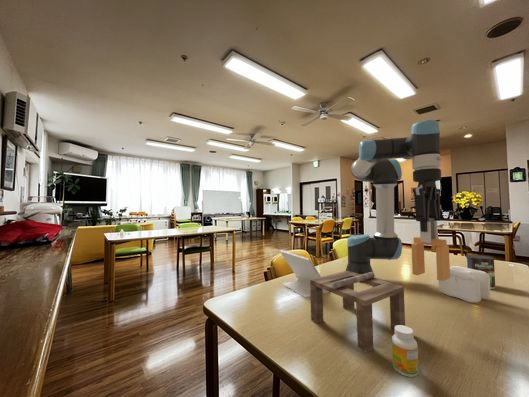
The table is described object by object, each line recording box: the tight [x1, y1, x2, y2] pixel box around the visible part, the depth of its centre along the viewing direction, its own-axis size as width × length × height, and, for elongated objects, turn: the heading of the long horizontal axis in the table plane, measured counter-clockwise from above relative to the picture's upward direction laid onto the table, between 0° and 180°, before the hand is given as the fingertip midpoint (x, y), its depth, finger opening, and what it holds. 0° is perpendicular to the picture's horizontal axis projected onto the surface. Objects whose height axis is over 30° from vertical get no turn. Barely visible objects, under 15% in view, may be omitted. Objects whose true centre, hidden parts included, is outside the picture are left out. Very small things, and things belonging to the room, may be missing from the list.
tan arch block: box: [411, 218, 451, 281], centre depth 74 cm, size 8×5×18 cm, turn 32°
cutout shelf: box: [310, 270, 406, 353], centre depth 77 cm, size 22×20×16 cm
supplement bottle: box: [391, 325, 419, 378], centre depth 56 cm, size 5×5×10 cm
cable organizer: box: [437, 265, 492, 304], centre depth 98 cm, size 15×11×12 cm
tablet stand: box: [280, 250, 330, 299], centre depth 116 cm, size 18×25×17 cm
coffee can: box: [465, 253, 497, 290], centre depth 112 cm, size 10×10×14 cm
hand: (429, 241), depth 74 cm, fingers closed on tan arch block, 4 cm apart
